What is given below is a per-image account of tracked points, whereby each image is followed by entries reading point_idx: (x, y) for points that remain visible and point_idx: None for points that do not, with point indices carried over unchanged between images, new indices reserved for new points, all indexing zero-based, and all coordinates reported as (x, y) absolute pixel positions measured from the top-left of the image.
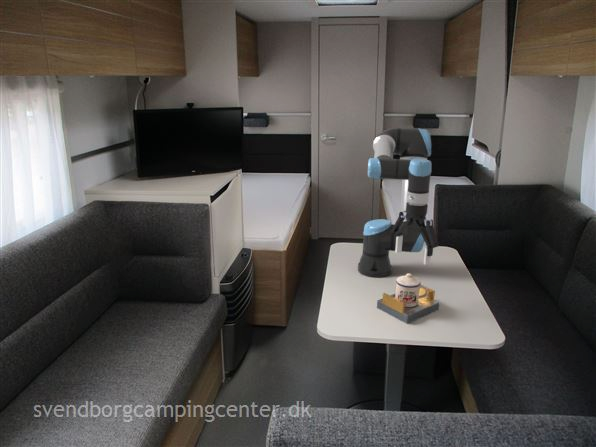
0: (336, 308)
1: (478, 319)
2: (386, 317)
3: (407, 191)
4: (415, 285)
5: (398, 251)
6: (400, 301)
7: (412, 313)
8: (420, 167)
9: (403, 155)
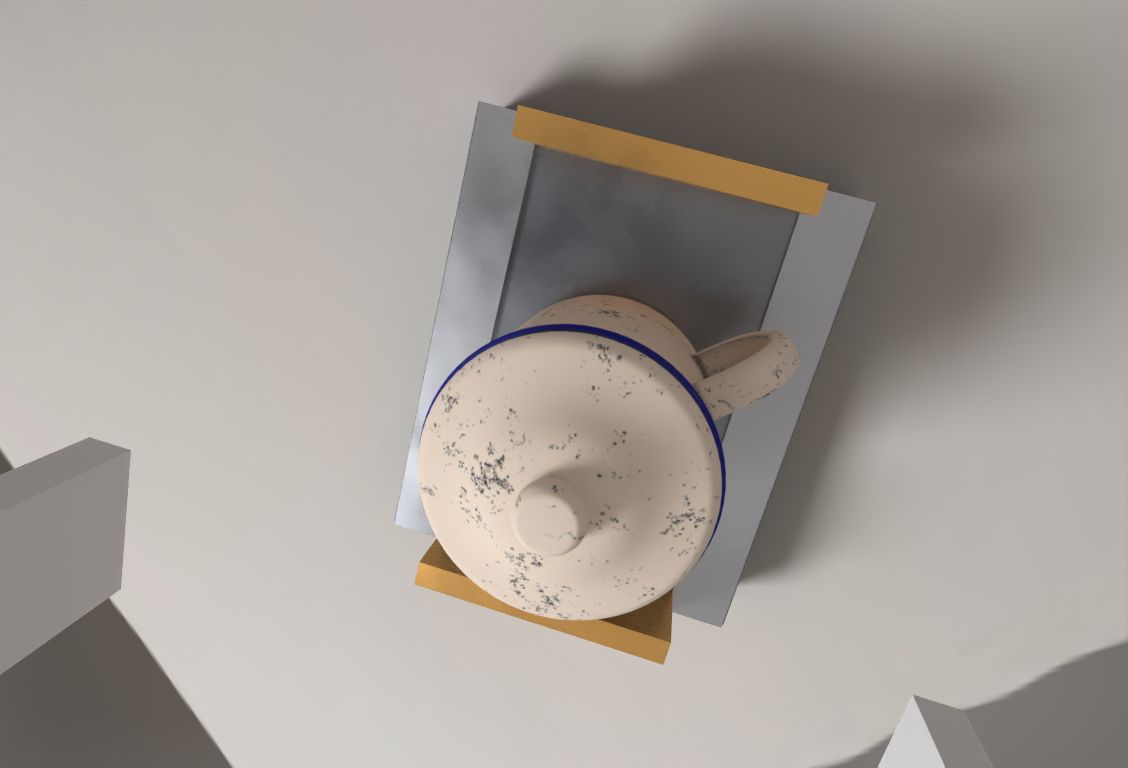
0: (225, 656)
1: None
2: None
3: None
4: (698, 556)
5: (101, 553)
6: (623, 640)
7: (741, 571)
8: None
9: None
